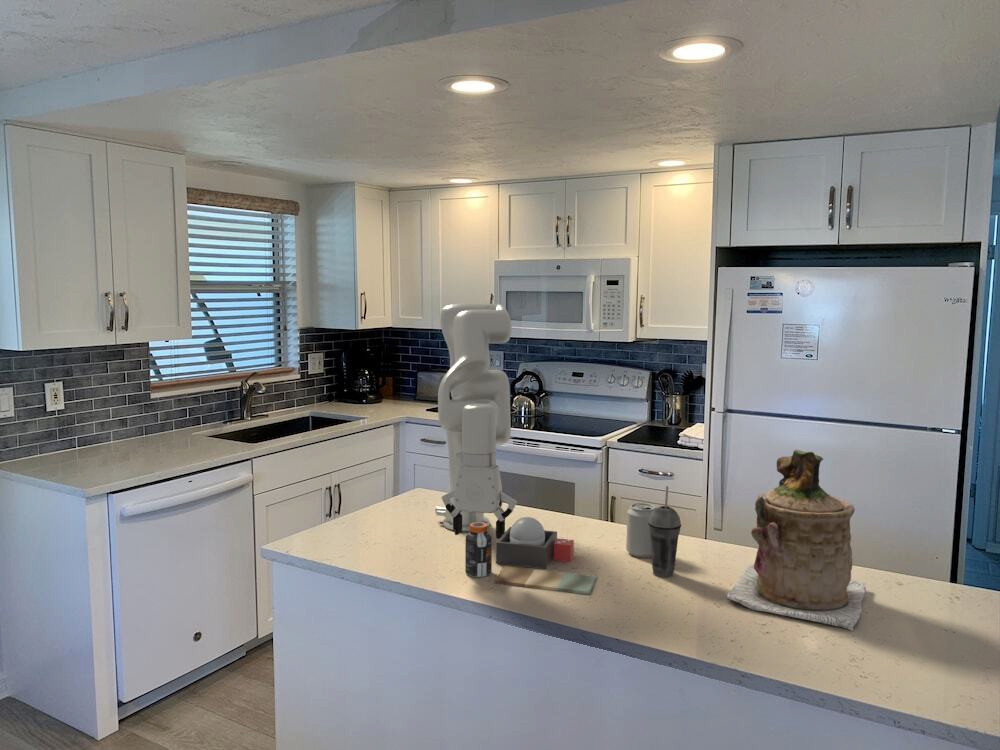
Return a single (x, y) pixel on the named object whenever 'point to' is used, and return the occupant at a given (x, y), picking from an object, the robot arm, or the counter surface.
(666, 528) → the beverage cup
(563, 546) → the box
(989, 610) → the counter surface
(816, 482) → the cookie jar
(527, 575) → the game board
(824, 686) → the counter surface
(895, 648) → the counter surface
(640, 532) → the can
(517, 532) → the dome
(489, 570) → the pill bottle
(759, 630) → the counter surface
